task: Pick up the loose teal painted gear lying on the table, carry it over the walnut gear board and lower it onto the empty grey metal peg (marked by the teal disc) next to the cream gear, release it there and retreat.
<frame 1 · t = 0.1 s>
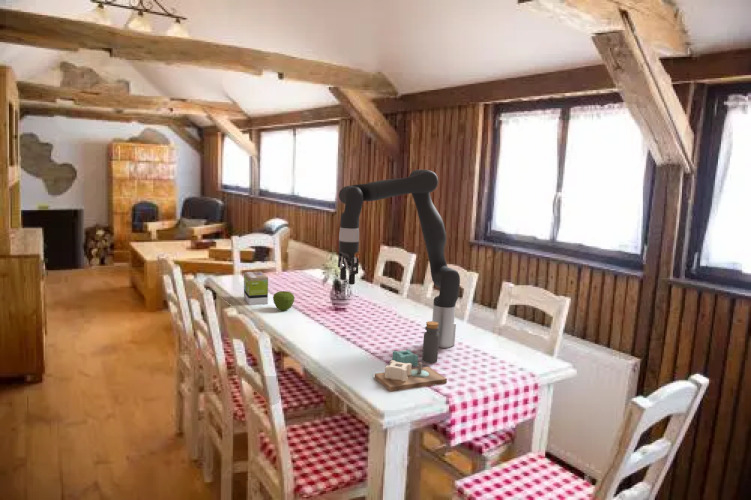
hand: (347, 282, 200), 29 cm above the table, tool pointing down, fingers open, 8 cm apart
cream gear: (397, 376, 182), point 2 cm above the table, touching gear board
apple: (283, 310, 265), on the table
bottle: (429, 360, 204), on the table
gear board: (410, 380, 183), on the table
tea box: (255, 301, 279), on the table
teal gear: (404, 363, 199), on the table
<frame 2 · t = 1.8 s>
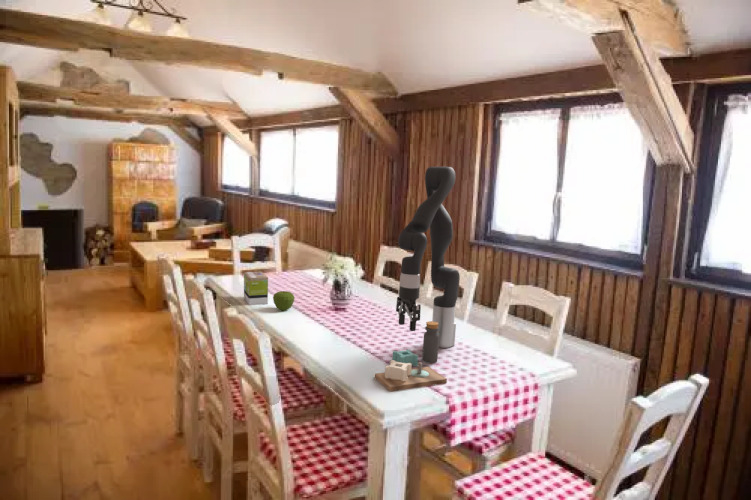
hand: (406, 327, 197), 14 cm above the table, tool pointing down, fingers open, 8 cm apart
nothing on the table moved.
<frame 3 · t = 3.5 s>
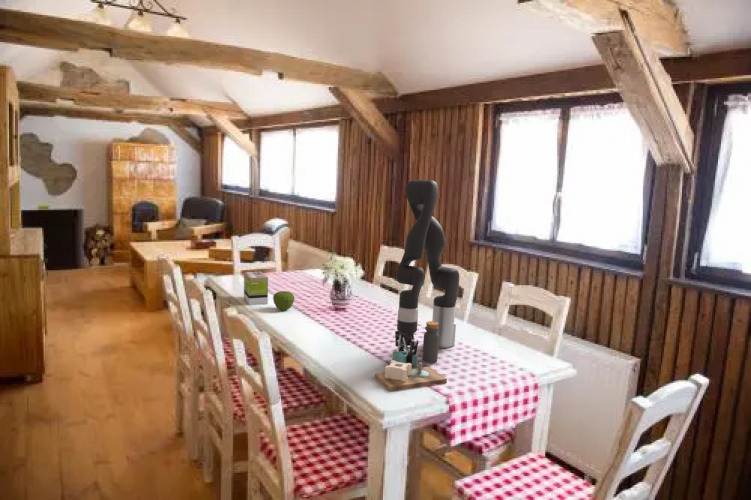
hand: (404, 361, 199), 1 cm above the table, tool pointing down, fingers closed on teal gear, 5 cm apart
teal gear: (404, 363, 199), on the table, touching gripper
everything else where it was.
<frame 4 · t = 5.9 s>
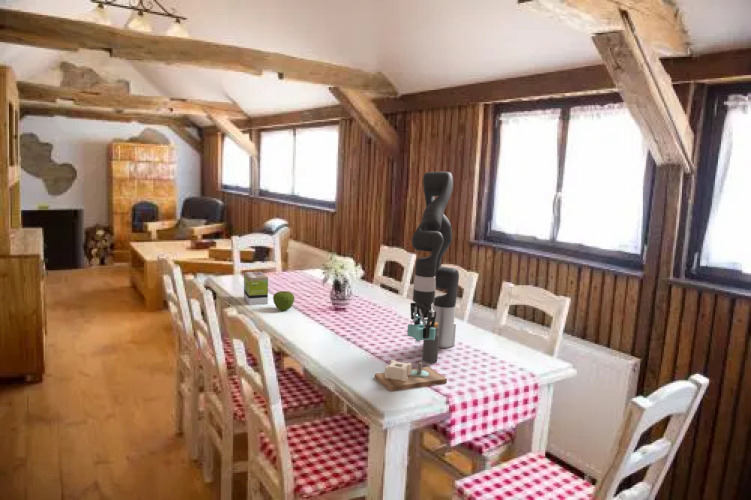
hand: (421, 335, 183), 16 cm above the table, tool pointing down, fingers closed on teal gear, 5 cm apart
teal gear: (420, 337, 183), point 15 cm above the table, touching gripper
everything else where it was.
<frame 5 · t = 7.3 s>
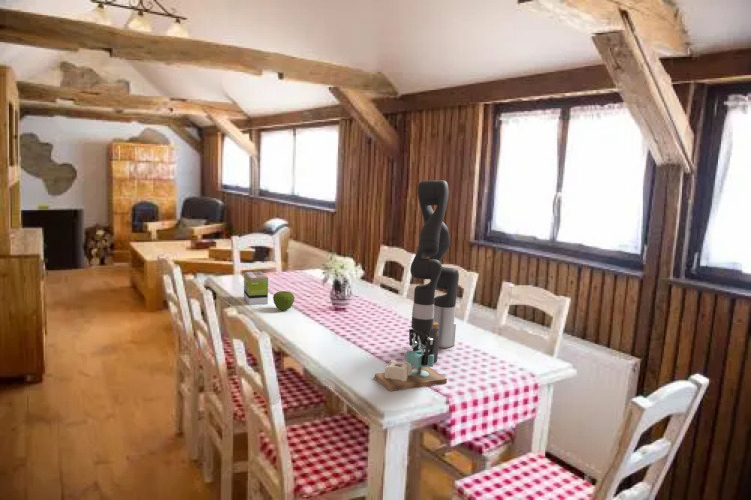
hand: (419, 361, 185), 6 cm above the table, tool pointing down, fingers closed on teal gear, 5 cm apart
teal gear: (419, 364, 185), point 5 cm above the table, touching gripper
everything else where it was.
when the fingers open (3 cm above the table, at t = 8.2 s): teal gear moves 1 cm, resting on gear board.
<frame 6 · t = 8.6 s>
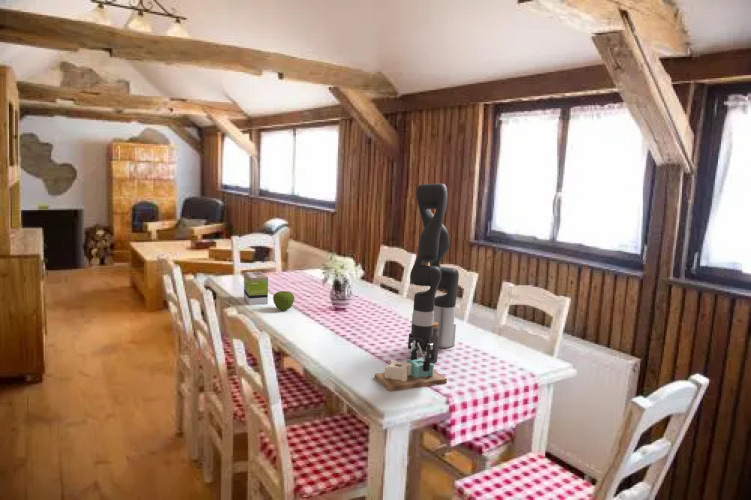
hand: (419, 366, 185), 4 cm above the table, tool pointing down, fingers open, 8 cm apart
teal gear: (419, 373, 186), point 2 cm above the table, touching gear board
everything else where it was.
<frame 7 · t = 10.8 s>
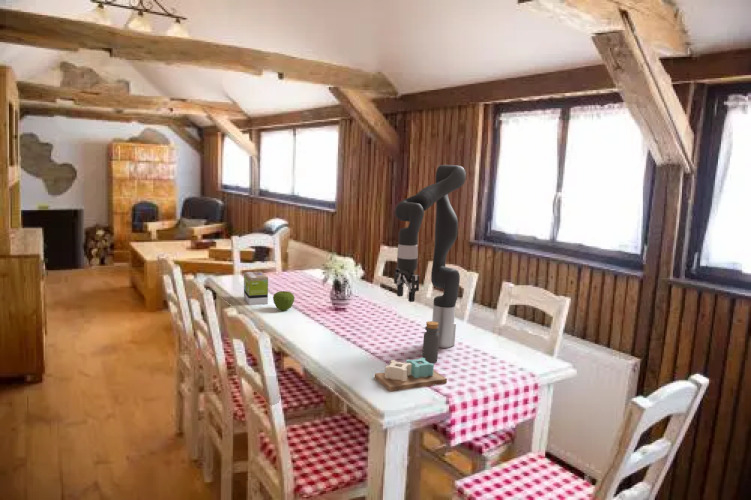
hand: (405, 298, 197), 25 cm above the table, tool pointing down, fingers open, 8 cm apart
nothing on the table moved.
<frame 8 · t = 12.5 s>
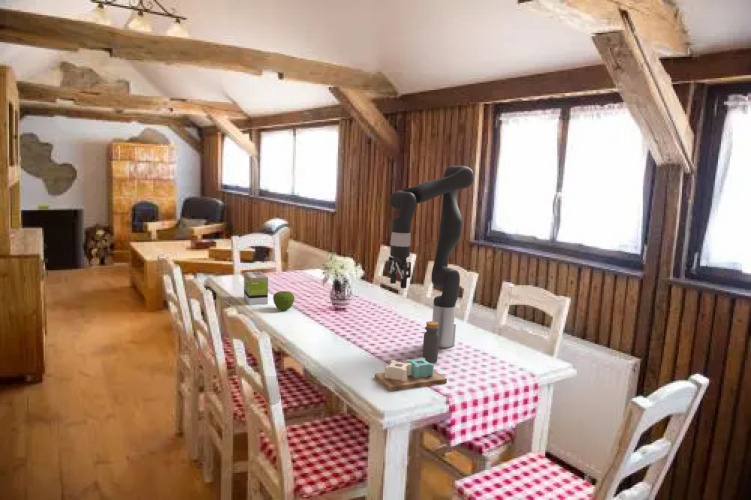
hand: (398, 285, 203), 28 cm above the table, tool pointing down, fingers open, 8 cm apart
nothing on the table moved.
at the end: teal gear 0.3 cm from the target spot, point 1.7 cm above the table; cream gear moved 0.1 cm from its start; the gripper is holding nothing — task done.
